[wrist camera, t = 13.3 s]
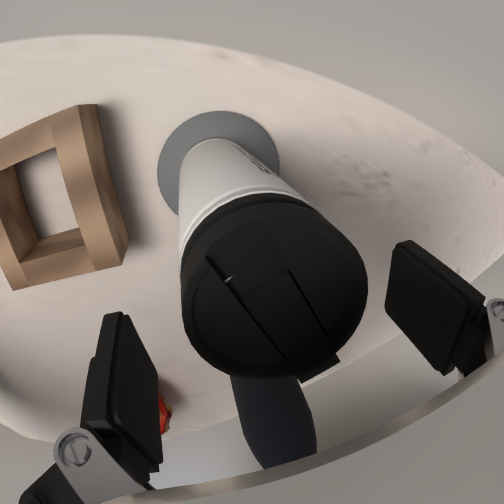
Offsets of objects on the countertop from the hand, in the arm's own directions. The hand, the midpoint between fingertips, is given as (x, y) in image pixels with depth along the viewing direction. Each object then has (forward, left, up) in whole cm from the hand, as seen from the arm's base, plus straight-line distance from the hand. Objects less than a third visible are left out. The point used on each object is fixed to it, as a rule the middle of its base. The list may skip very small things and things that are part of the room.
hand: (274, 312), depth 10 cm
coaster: (0, 0, -20) cm, 20 cm away
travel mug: (0, 0, -19) cm, 19 cm away
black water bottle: (-19, 0, -20) cm, 27 cm away
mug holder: (+2, +16, -20) cm, 25 cm away
